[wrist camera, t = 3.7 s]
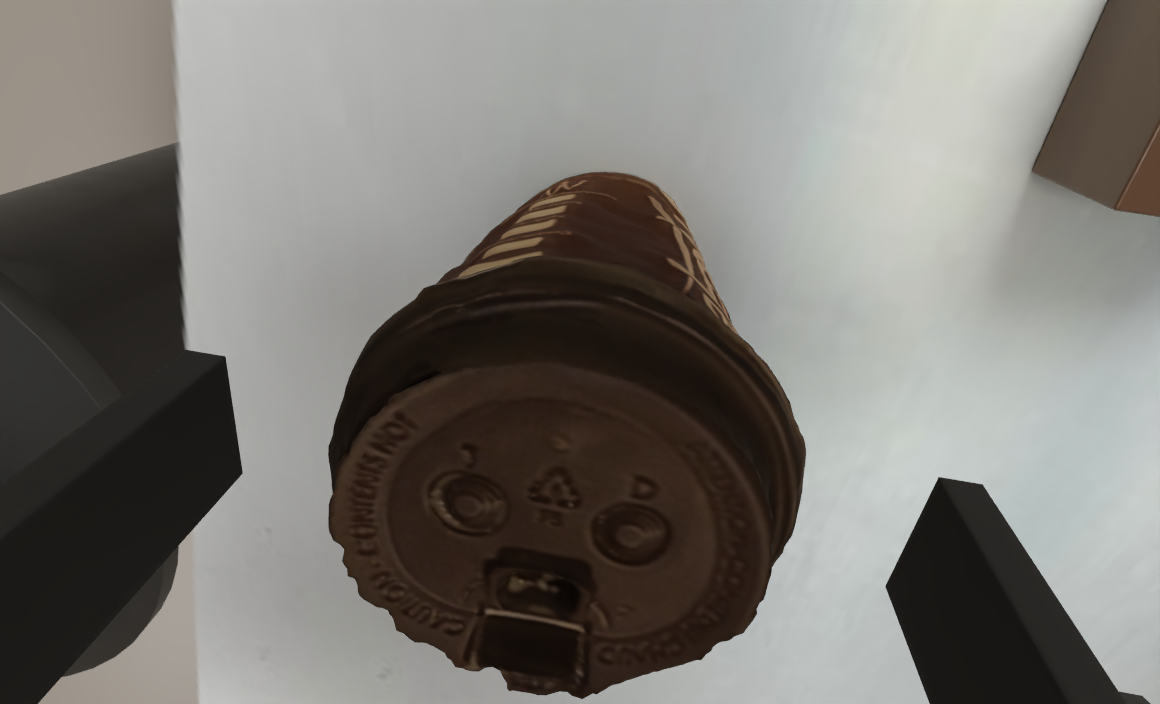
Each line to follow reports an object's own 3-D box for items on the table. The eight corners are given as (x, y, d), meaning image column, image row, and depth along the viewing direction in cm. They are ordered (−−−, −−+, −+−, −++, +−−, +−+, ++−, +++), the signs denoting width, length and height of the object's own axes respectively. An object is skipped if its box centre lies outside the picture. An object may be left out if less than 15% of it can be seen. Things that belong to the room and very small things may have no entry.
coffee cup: (584, 419, 25) (525, 777, 13) (420, 258, 22) (177, 526, 11) (783, 279, 22) (928, 593, 10) (615, 73, 19) (555, 180, 8)
